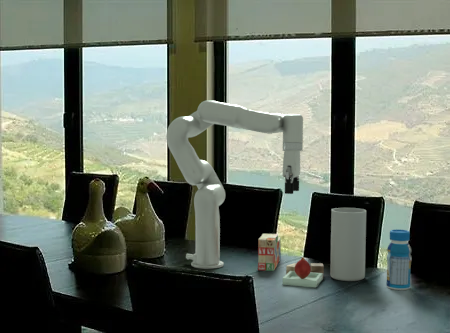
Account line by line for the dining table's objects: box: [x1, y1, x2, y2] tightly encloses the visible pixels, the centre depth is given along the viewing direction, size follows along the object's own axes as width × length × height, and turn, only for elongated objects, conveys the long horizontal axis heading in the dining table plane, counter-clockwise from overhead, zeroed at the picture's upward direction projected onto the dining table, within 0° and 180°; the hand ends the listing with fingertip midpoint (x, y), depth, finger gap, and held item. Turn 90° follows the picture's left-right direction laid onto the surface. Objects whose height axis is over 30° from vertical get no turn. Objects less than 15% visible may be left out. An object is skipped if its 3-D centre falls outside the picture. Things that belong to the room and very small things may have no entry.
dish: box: [282, 271, 324, 288], centre depth 258 cm, size 12×12×2 cm
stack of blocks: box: [257, 233, 282, 272], centre depth 286 cm, size 21×6×12 cm, turn 169°
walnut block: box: [309, 262, 325, 274], centre depth 266 cm, size 4×4×4 cm
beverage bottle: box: [386, 228, 412, 291], centre depth 250 cm, size 8×8×20 cm
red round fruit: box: [295, 256, 311, 279], centre depth 258 cm, size 6×6×8 cm
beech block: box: [285, 262, 297, 275], centre depth 268 cm, size 4×6×4 cm, turn 143°
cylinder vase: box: [329, 207, 367, 282], centre depth 264 cm, size 12×12×25 cm
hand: (291, 192), depth 272 cm, fingers open, 9 cm apart
